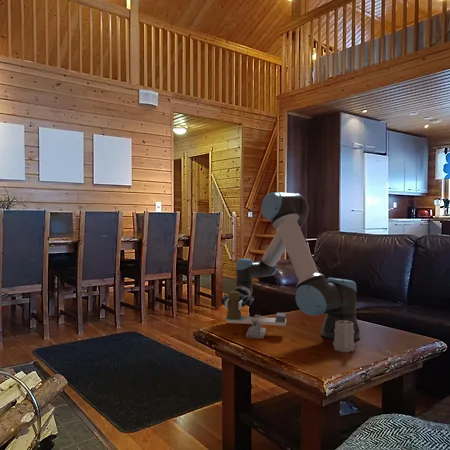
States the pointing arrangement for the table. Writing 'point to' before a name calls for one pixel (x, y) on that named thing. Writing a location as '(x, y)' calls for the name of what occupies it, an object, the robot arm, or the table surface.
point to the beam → (261, 320)
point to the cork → (233, 305)
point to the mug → (344, 336)
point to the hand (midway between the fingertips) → (232, 306)
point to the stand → (256, 330)
